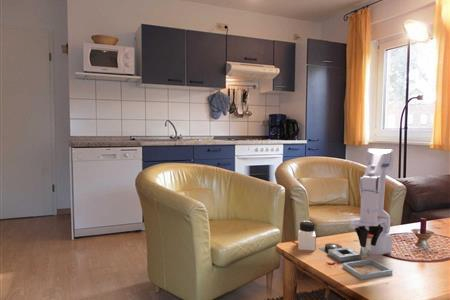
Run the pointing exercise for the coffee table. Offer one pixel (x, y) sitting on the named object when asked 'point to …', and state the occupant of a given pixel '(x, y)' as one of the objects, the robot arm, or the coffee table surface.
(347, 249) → the block
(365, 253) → the pin
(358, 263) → the tray
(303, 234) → the medicine bottle
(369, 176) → the robot arm
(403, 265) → the coffee table surface
